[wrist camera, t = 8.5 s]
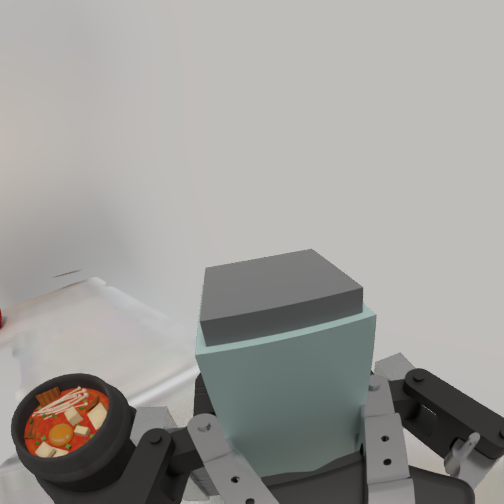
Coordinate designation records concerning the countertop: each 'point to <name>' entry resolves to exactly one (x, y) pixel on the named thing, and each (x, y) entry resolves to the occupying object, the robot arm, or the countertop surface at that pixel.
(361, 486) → the robot arm
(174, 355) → the countertop surface
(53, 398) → the casserole
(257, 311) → the block
